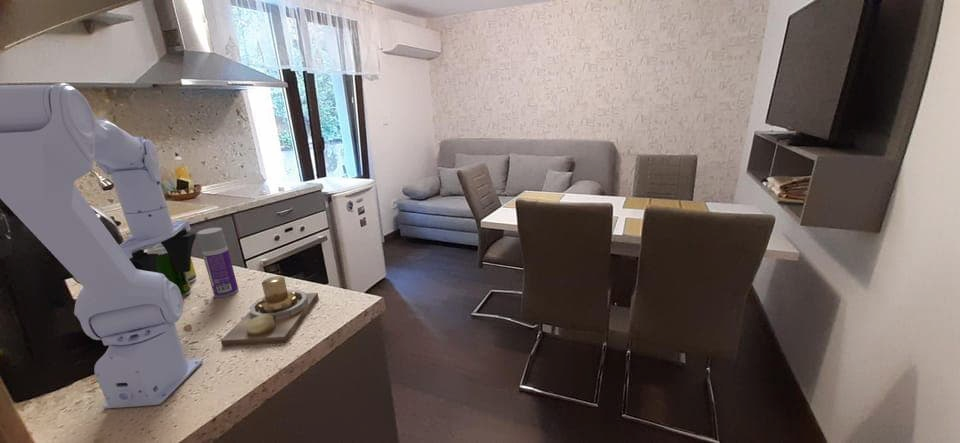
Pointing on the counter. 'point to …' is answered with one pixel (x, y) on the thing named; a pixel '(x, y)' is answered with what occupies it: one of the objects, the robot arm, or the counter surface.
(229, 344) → the carrier board
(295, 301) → the planet gear
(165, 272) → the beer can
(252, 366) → the counter surface
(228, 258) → the container
